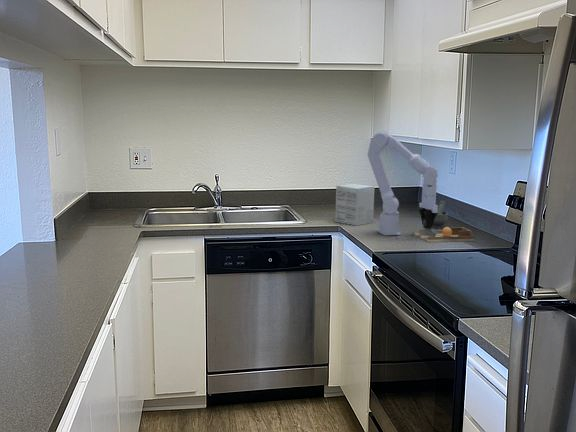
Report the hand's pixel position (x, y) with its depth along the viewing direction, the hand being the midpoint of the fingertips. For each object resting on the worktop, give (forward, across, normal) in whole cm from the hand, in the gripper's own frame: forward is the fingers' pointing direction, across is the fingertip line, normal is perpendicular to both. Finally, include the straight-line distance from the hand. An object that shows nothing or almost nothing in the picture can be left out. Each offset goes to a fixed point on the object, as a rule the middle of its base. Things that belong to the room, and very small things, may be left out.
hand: (427, 226), depth 246 cm
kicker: (+3, -3, 0) cm, 4 cm away
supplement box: (+4, +34, +22) cm, 40 cm away
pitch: (+4, -4, -6) cm, 8 cm away
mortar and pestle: (+4, +18, -13) cm, 22 cm away
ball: (+1, -6, -6) cm, 9 cm away
